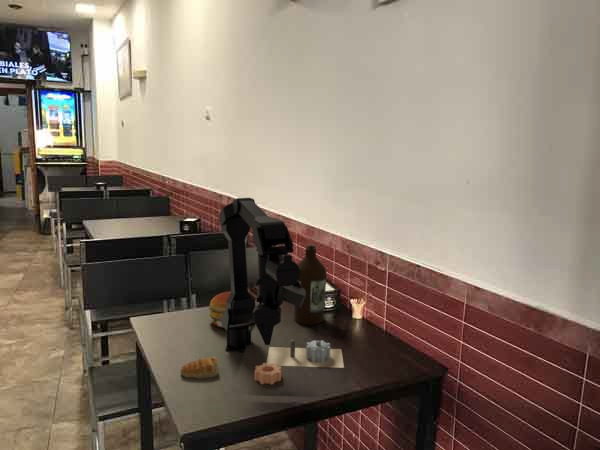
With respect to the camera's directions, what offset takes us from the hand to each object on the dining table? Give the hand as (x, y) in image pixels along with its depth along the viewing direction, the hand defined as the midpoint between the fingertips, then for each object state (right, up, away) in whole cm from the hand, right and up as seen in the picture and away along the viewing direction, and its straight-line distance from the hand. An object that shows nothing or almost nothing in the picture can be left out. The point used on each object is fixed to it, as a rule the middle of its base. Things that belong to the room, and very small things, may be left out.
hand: (269, 336), depth 120 cm
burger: (-15, -5, +39) cm, 42 cm away
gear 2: (+12, -9, +14) cm, 20 cm away
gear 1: (0, -12, +2) cm, 12 cm away
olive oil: (+10, -4, +43) cm, 45 cm away
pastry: (-17, -11, +6) cm, 21 cm away
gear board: (+9, -10, +14) cm, 19 cm away
